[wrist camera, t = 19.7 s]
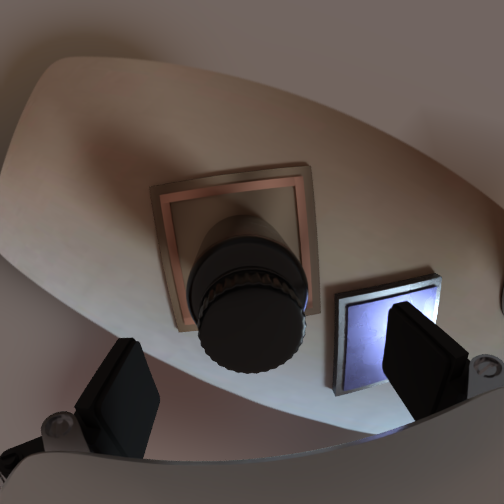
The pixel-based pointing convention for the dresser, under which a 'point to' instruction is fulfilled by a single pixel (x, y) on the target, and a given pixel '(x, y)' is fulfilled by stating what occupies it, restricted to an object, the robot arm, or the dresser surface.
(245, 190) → the marked board
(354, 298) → the ink pad
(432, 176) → the dresser surface
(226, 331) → the supplement bottle
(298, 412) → the dresser surface
